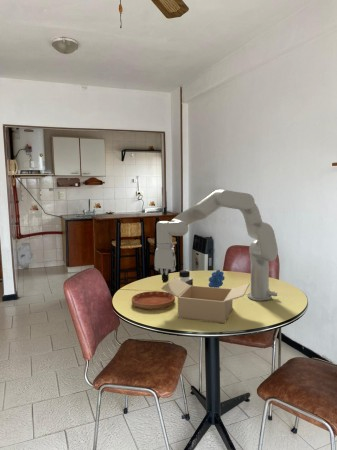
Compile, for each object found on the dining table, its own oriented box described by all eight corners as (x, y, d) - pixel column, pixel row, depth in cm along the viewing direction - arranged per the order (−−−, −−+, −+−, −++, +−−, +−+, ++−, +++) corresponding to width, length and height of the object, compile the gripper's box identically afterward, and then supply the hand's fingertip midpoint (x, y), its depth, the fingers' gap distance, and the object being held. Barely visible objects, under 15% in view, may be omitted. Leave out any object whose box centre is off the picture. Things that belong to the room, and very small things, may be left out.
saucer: (127, 300, 191) (126, 293, 190) (166, 294, 199) (166, 288, 198) (138, 314, 169) (138, 307, 169) (181, 307, 177) (181, 300, 177)
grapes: (219, 286, 211) (219, 267, 210) (226, 289, 206) (226, 269, 204) (204, 289, 205) (204, 270, 204) (211, 292, 200) (211, 272, 198)
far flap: (178, 296, 163) (177, 297, 163) (189, 285, 180) (189, 285, 180) (161, 287, 165) (161, 288, 165) (174, 277, 183) (174, 278, 183)
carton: (232, 308, 174) (232, 289, 173) (224, 323, 156) (224, 302, 155) (190, 303, 182) (190, 285, 181) (178, 317, 163) (177, 297, 162)
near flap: (232, 288, 173) (232, 289, 173) (224, 301, 155) (225, 302, 155) (249, 283, 169) (249, 284, 169) (243, 294, 152) (243, 296, 152)
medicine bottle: (186, 293, 200) (185, 272, 199) (176, 291, 204) (175, 271, 203) (193, 290, 206) (192, 270, 204) (183, 288, 210) (182, 268, 209)
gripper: (181, 245, 173) (181, 281, 175) (153, 244, 179) (154, 278, 181) (176, 248, 166) (176, 285, 168) (147, 246, 172) (148, 282, 174)
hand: (165, 281), depth 175 cm, fingers closed
